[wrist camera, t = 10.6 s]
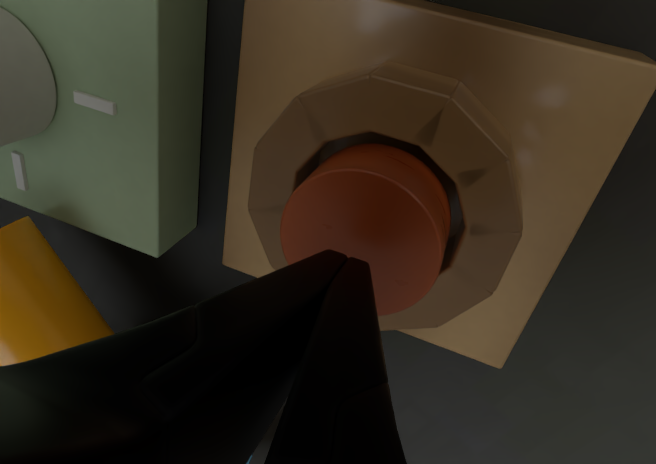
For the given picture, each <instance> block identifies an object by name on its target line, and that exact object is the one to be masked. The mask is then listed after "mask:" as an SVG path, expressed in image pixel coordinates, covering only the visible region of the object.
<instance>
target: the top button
mask: <svg viewBox="0 0 656 464" xmlns="http://www.w3.org/2000/svg"><path fill="white" fill-rule="evenodd" d="M450 225H451V211H450V204H449V201H448V197H447V194H446V192H445V190H444V188H443V186H442V184H441V182H440V181H439V179H438V178H437V176H436V175H435V174H434V173H433V172H432V171H431V169H430V168H429V167H428V166H426V165H425V164H424V163H423V162H422V161H421V160H419V159H418V158H416V157H415V156H413V155H412V154H410V153H408V152H406V151H404V150H401V149H399V148H396V147H393V146H388V145H384V144H375V143H368V144H358V145H353V146H350V147H346V148H344V149H341V150H339V151H337V152H335V153H334V154H332V155H331V156H329V157H328V158H327V159H326V160H325V161H323V162H322V163H321V164H320V165H319V166H318V167H317V168H316V169H315V170H314V171H313V172H312V173H311V174H310V175H309V176H308V177H307V178H306V179H305V180H304V181H303V182H302V183H301V184H300V185H299V186H298V187H297V188H296V190H295V191H294V192H293V193H292V194H291V196H290V197H289V199H288V201H287V203H286V205H285V207H284V210H283V213H282V217H281V223H280V240H281V245H282V250H283V253H284V256H285V259H286V261H287V263H288V265H290V264H293V263H295V262H298V261H300V260H302V259H305V258H307V257H310V256H312V255H314V254H317V253H319V252H322V251H324V250H327V249H332V250H334V251H337V252H340V253H343V254H345V255H347V257H348V258H349V257H354V258H357V259H360V260H363V261H366V262H368V263H369V265H370V270H371V277H372V283H373V289H374V296H375V302H376V308H377V315H378V316H383V315H390V314H394V313H397V312H400V311H403V310H405V309H407V308H409V307H411V306H412V305H414V304H416V303H417V302H418V301H420V300H421V299H422V298H423V297H424V296H425V295H426V294H427V293H428V292H429V291H430V289H431V288H432V286H433V285H434V284H435V281H436V279H437V277H438V275H439V272H440V269H441V265H442V261H443V257H444V253H445V248H446V244H447V240H448V236H449V232H450Z"/></svg>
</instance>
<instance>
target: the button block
mask: <svg viewBox="0 0 656 464" xmlns="http://www.w3.org/2000/svg"><path fill="white" fill-rule="evenodd" d="M655 89H656V62H655V61H654V60H652V59H651V58H649V57H647V56H646V55H644V54H642V53H641V52H637V51H633V50H629V49H625V48H621V47H616V46H612V45H608V44H604V43H600V42H596V41H591V40H587V39H583V38H579V37H575V36H571V35H567V34H562V33H558V32H554V31H550V30H546V29H542V28H537V27H533V26H529V25H525V24H521V23H517V22H513V21H508V20H504V19H500V18H496V17H492V16H488V15H483V14H479V13H475V12H471V11H467V10H463V9H458V8H454V7H450V6H446V5H442V4H438V3H434V2H429V1H425V0H245V3H244V15H243V26H242V38H241V50H240V61H239V73H238V85H237V96H236V108H235V120H234V131H233V143H232V155H231V166H230V178H229V190H228V201H227V213H226V225H225V236H224V248H223V260H222V264H223V265H225V266H228V267H230V268H233V269H236V270H238V271H241V272H244V273H246V274H249V275H252V276H254V277H257V278H259V277H262V276H264V275H266V274H269V273H271V272H274V271H276V270H278V269H281V268H283V267H286V266H288V263H287V261H286V259H285V256H284V253H283V250H282V245H281V240H280V223H281V217H282V213H283V210H284V207H285V205H286V203H287V201H288V199H289V197H290V196H291V194H292V193H293V192H294V191H295V190H296V188H297V187H298V186H299V185H300V184H301V183H302V182H303V181H304V180H305V179H306V178H307V177H308V176H309V175H310V174H311V173H312V172H313V171H314V170H315V169H316V168H317V167H318V166H319V165H320V164H321V163H322V162H323V161H325V160H326V159H327V158H328V157H329V156H331V155H332V154H334V153H335V152H337V151H339V150H341V149H344V148H346V147H350V146H353V145H358V144H368V143H375V144H384V145H388V146H393V147H396V148H399V149H401V150H404V151H406V152H408V153H410V154H412V155H413V156H415V157H416V158H418V159H419V160H421V161H422V162H423V163H424V164H425V165H426V166H428V167H429V168H430V169H431V171H432V172H433V173H434V174H435V175H436V176H437V178H438V179H439V181H440V182H441V184H442V186H443V188H444V190H445V192H446V194H447V197H448V201H449V204H450V211H451V225H450V232H449V236H448V240H447V244H446V248H445V253H444V257H443V261H442V265H441V269H440V272H439V275H438V277H437V279H436V281H435V284H434V285H433V286H432V288H431V289H430V291H429V292H428V293H427V294H426V295H425V296H424V297H423V298H422V299H421V300H420V301H418V302H417V303H416V304H414V305H412V306H411V307H409V308H407V309H405V310H403V311H400V312H397V313H394V314H390V315H383V316H378V321H379V327H380V331H385V330H398V331H400V332H403V333H406V334H408V335H411V336H414V337H416V338H419V339H422V340H424V341H427V342H430V343H432V344H435V345H437V346H440V347H443V348H445V349H448V350H451V351H453V352H456V353H459V354H461V355H464V356H467V357H469V358H472V359H475V360H477V361H480V362H483V363H485V364H488V365H491V366H493V367H496V368H499V369H501V368H502V367H503V365H504V363H505V361H506V360H507V358H508V356H509V354H510V352H511V351H512V349H513V347H514V345H515V343H516V341H517V340H518V338H519V336H520V334H521V332H522V331H523V329H524V327H525V325H526V323H527V321H528V320H529V318H530V316H531V314H532V312H533V311H534V309H535V307H536V305H537V303H538V301H539V300H540V298H541V296H542V294H543V292H544V291H545V289H546V287H547V285H548V283H549V281H550V280H551V278H552V276H553V274H554V272H555V271H556V269H557V267H558V265H559V263H560V262H561V260H562V258H563V256H564V254H565V252H566V251H567V249H568V247H569V245H570V243H571V242H572V240H573V238H574V236H575V234H576V232H577V231H578V229H579V227H580V225H581V223H582V222H583V220H584V218H585V216H586V214H587V212H588V211H589V209H590V207H591V205H592V203H593V202H594V200H595V198H596V196H597V194H598V192H599V191H600V189H601V187H602V185H603V183H604V182H605V180H606V178H607V176H608V174H609V172H610V171H611V169H612V167H613V165H614V163H615V162H616V160H617V158H618V156H619V154H620V153H621V151H622V149H623V147H624V145H625V143H626V142H627V140H628V138H629V136H630V134H631V133H632V131H633V129H634V127H635V125H636V123H637V122H638V120H639V118H640V116H641V114H642V113H643V111H644V109H645V107H646V105H647V103H648V102H649V100H650V98H651V96H652V94H653V93H654V91H655Z"/></svg>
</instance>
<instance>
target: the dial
mask: <svg viewBox="0 0 656 464" xmlns="http://www.w3.org/2000/svg"><path fill="white" fill-rule="evenodd" d="M55 109H56V87H55V81H54V77H53V73H52V71H51V68H50V65H49V63H48V60H47V58H46V56H45V54H44V52H43V50H42V49H41V47H40V45H39V44H38V42H37V41H36V39H35V38H34V36H33V35H32V34H31V33H30V31H29V30H28V29H27V28H26V27H25V26H24V25H23V24H22V23H21V22H20V21H19V20H18V19H17V18H16V17H15V16H13V15H12V14H10V13H9V12H8V11H6V10H4V9H2V8H0V147H2V146H4V145H7V144H10V143H13V142H16V141H19V140H22V139H25V138H28V137H31V136H34V135H37V134H39V133H41V132H42V131H44V130H45V129H46V128H47V127H48V125H49V124H50V123H51V121H52V119H53V116H54V114H55Z"/></svg>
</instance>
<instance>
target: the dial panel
mask: <svg viewBox="0 0 656 464" xmlns="http://www.w3.org/2000/svg"><path fill="white" fill-rule="evenodd" d="M0 8H2V9H4V10H6V11H8V12H9V13H10V14H12V15H13V16H15V17H16V18H17V19H18V20H19V21H20V22H21V23H22V24H23V25H24V26H25V27H26V28H27V29H28V30H29V31H30V33H31V34H32V35H33V36H34V38H35V39H36V41H37V42H38V44H39V45H40V47H41V49H42V50H43V52H44V54H45V56H46V58H47V60H48V63H49V65H50V68H51V71H52V73H53V77H54V81H55V87H56V109H55V114H54V116H53V119H52V121H51V123H50V124H49V125H48V127H47V128H46V129H45V130H44V131H42V132H41V133H39V134H37V135H34V136H31V137H28V138H25V139H22V140H19V141H16V142H13V143H10V144H7V145H4V146H2V147H0V198H3V199H5V200H8V201H10V202H13V203H16V204H18V205H21V206H23V207H26V208H29V209H31V210H34V211H36V212H39V213H42V214H44V215H47V216H49V217H52V218H55V219H57V220H60V221H62V222H65V223H68V224H70V225H73V226H75V227H78V228H81V229H83V230H86V231H88V232H91V233H94V234H96V235H99V236H101V237H104V238H107V239H109V240H112V241H114V242H117V243H120V244H122V245H125V246H127V247H130V248H133V249H135V250H138V251H140V252H143V253H146V254H148V255H151V256H153V257H156V258H158V257H160V256H161V255H162V254H163V253H165V252H166V251H167V250H168V249H170V248H171V247H172V246H173V245H175V244H176V243H177V242H178V241H180V240H181V239H182V238H183V237H185V236H186V235H187V234H188V233H190V232H191V231H192V230H193V229H195V228H196V226H197V208H198V187H199V166H200V145H201V125H202V104H203V83H204V62H205V41H206V20H207V0H0Z"/></svg>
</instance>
